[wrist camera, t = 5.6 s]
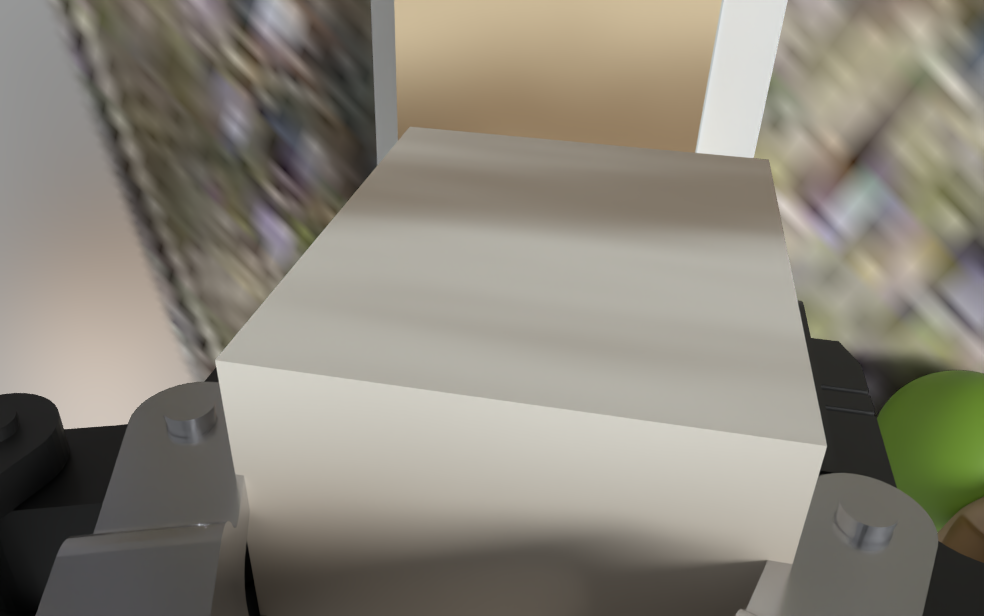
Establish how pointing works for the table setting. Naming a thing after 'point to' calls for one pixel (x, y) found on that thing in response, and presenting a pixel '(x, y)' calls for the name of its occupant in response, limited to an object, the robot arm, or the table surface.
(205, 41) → the table surface
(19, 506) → the robot arm
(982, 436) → the snail figurine
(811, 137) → the table surface
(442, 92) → the oak base block
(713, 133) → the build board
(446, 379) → the maple cube
